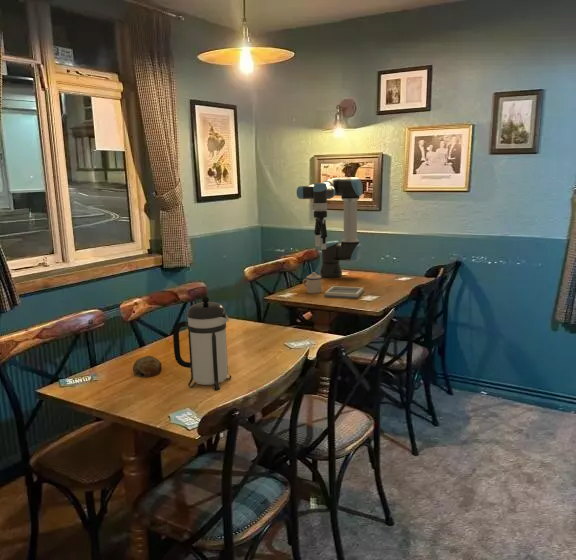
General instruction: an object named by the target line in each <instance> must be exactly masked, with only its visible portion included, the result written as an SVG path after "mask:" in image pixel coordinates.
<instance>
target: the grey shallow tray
mask: <svg viewBox="0 0 576 560" xmlns="http://www.w3.org/2000/svg"><path fill="white" fill-rule="evenodd" d="M364 293H365V290H364V287H363V286H362V287H357V286H356V287H355V286H339V285H332V286H331V287H330V288H328V289H327V290H326V291H325V292H324V296H323V297H325V298H338V299H339V298H341V299H359V298H360V297H361V296H362V295H363V294H364ZM361 294H362V295H361Z"/></svg>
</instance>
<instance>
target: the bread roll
mask: <svg viewBox="0 0 576 560" xmlns="http://www.w3.org/2000/svg"><path fill="white" fill-rule="evenodd" d="M132 371H133V374H134V376H135V377H137V378H153V377H156V376H159V375H160V374H161V372H162V362H161V361H160V360H159V359H158V358H157V357H155V356H153V355H145V356H143V357H141V358H137V359H136V360H135V361H134V362H133V366H132Z"/></svg>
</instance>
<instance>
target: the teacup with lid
mask: <svg viewBox="0 0 576 560" xmlns="http://www.w3.org/2000/svg"><path fill="white" fill-rule="evenodd" d="M322 278H323V277H321V276H320V274H317V273H316V272H314V271H313V272H311V273H310V274H308V275H306V277H305V278H304V279H303V280H302V285H303V286H304V287H305V288H306V293H308V294H321V292H322ZM305 281H306V282H305Z"/></svg>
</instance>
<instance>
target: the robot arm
mask: <svg viewBox="0 0 576 560" xmlns="http://www.w3.org/2000/svg"><path fill="white" fill-rule="evenodd" d="M363 188H364V187H363V183H362V180H361V178H359V177H356V176H355V177H352V176H351V177H334V178H329V179H326V180H323V181H322V182H314V183H313V184H310V185H300V186H298V187H297V188H296V197H297V198H298V199H299V200H313V205H312V207H313V210H314V211H313V218H315V224H314V231H313V233H314V235H315V239H314V240H315V247H320V248H321V249H320V250H321V267H320V269H319V276H321V277H322V278H339V277H342V276H343V271H342V269H341V265H340V262H342V261H343V262H358V261H359V260H360V259H361V257H362V253H363V245H362V243H360V240H359V239H358V202H359V200H360V196H362V195H363V191H364V189H363ZM335 196H336V197H339V196H340V197H341V200H342V201H343V238H342V239H341V241H339V240H330V241H329V240H328V241H327V237H328V231H327V224H326V223H327V220H326V219H325V218H327V217H328V200H330V199H332V198H334V197H335Z"/></svg>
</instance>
